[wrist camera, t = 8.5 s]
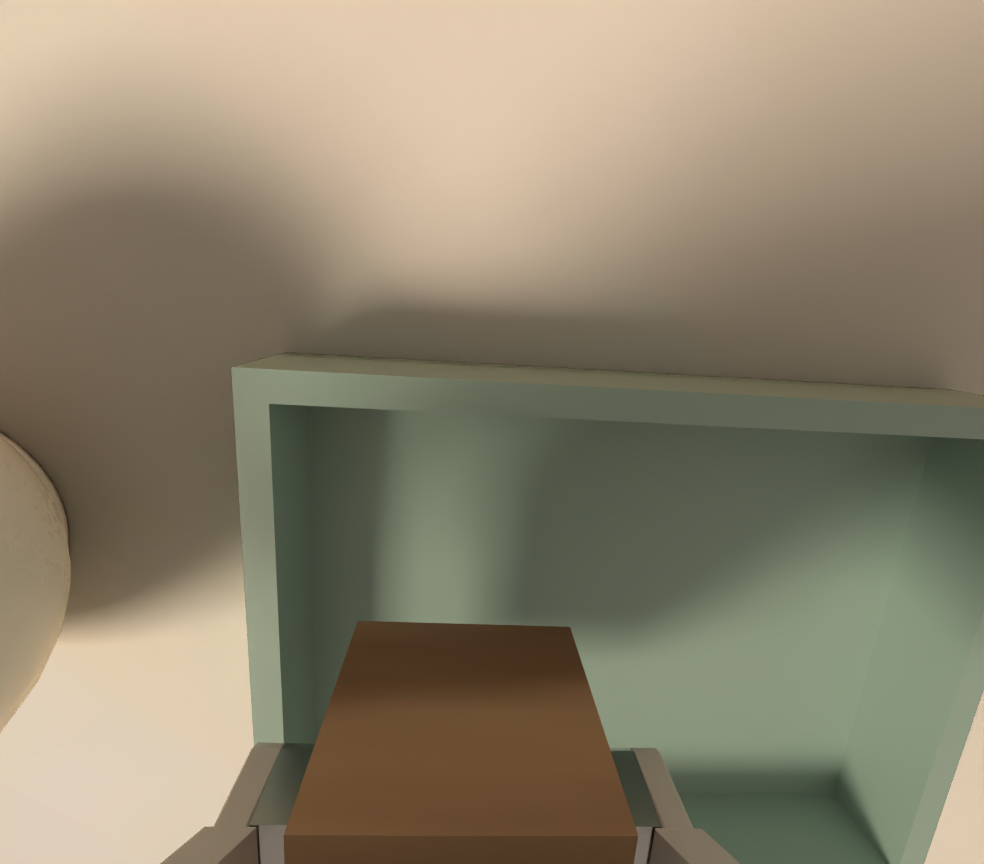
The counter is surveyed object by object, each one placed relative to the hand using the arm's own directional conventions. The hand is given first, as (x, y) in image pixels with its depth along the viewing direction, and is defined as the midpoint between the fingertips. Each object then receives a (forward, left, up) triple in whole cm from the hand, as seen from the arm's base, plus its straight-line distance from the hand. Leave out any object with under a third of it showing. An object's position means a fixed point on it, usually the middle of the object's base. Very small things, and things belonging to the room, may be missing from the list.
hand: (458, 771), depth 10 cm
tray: (0, +4, -6) cm, 7 cm away
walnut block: (0, 0, -2) cm, 2 cm away
